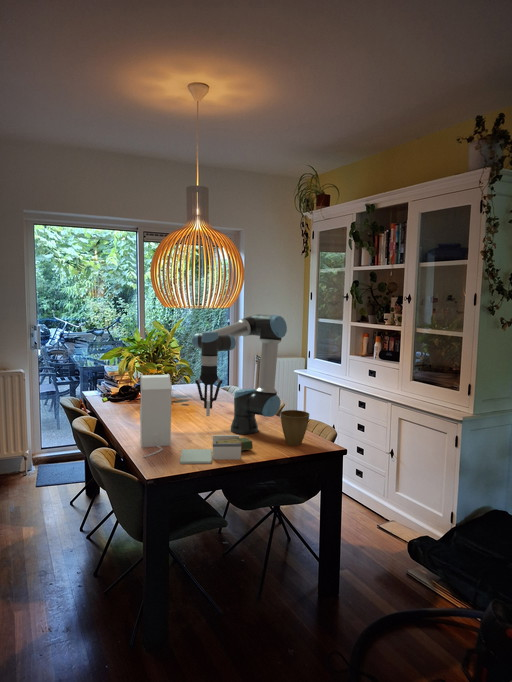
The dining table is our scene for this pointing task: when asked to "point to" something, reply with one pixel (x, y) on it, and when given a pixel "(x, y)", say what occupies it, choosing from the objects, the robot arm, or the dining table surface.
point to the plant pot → (294, 426)
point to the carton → (245, 442)
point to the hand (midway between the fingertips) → (207, 415)
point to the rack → (226, 447)
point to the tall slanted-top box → (155, 411)
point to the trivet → (196, 456)
